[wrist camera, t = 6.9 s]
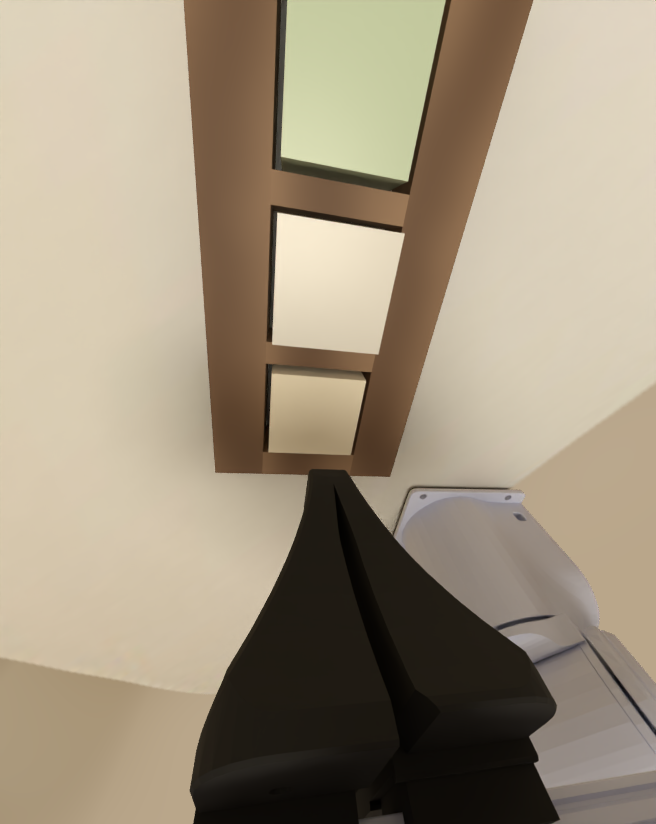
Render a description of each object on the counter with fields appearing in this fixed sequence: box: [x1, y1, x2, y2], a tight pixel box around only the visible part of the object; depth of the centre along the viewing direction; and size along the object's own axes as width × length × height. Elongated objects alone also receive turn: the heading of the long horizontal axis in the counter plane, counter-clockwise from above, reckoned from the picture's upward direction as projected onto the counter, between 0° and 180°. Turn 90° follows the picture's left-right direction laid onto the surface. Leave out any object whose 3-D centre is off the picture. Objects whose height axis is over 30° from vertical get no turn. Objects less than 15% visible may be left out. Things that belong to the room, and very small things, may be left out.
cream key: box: [268, 364, 366, 455], centre depth 16 cm, size 4×4×2 cm
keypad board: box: [184, 0, 533, 477], centre depth 13 cm, size 10×20×2 cm, turn 173°
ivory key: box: [272, 213, 405, 354], centre depth 12 cm, size 4×4×2 cm
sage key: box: [281, 0, 446, 191], centre depth 10 cm, size 4×4×2 cm
